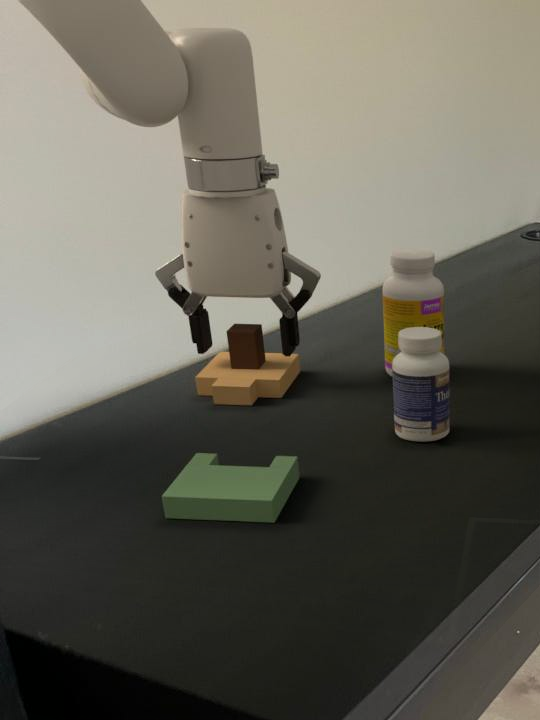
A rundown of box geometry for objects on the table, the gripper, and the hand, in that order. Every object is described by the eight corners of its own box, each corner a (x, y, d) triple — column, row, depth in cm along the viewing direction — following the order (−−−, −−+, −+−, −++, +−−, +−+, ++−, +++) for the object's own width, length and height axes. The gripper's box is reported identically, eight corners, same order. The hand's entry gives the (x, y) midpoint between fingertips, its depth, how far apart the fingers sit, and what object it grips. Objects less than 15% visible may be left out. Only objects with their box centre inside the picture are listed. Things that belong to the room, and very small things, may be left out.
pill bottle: (446, 444, 94) (445, 342, 88) (390, 442, 94) (386, 339, 89) (452, 424, 98) (452, 325, 93) (399, 422, 98) (395, 323, 93)
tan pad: (190, 403, 102) (181, 345, 99) (222, 368, 112) (215, 315, 109) (275, 406, 102) (269, 348, 99) (300, 371, 112) (295, 317, 108)
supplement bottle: (424, 386, 107) (421, 263, 100) (374, 376, 110) (368, 255, 103) (455, 370, 112) (455, 251, 105) (407, 360, 115) (403, 244, 108)
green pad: (165, 518, 80) (161, 496, 79) (199, 473, 87) (196, 452, 86) (274, 523, 79) (272, 500, 78) (299, 477, 87) (297, 456, 86)
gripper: (321, 171, 99) (333, 343, 109) (152, 168, 100) (179, 339, 110) (304, 183, 93) (319, 364, 103) (125, 180, 94) (156, 360, 104)
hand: (247, 351), depth 106 cm, fingers open, 8 cm apart
